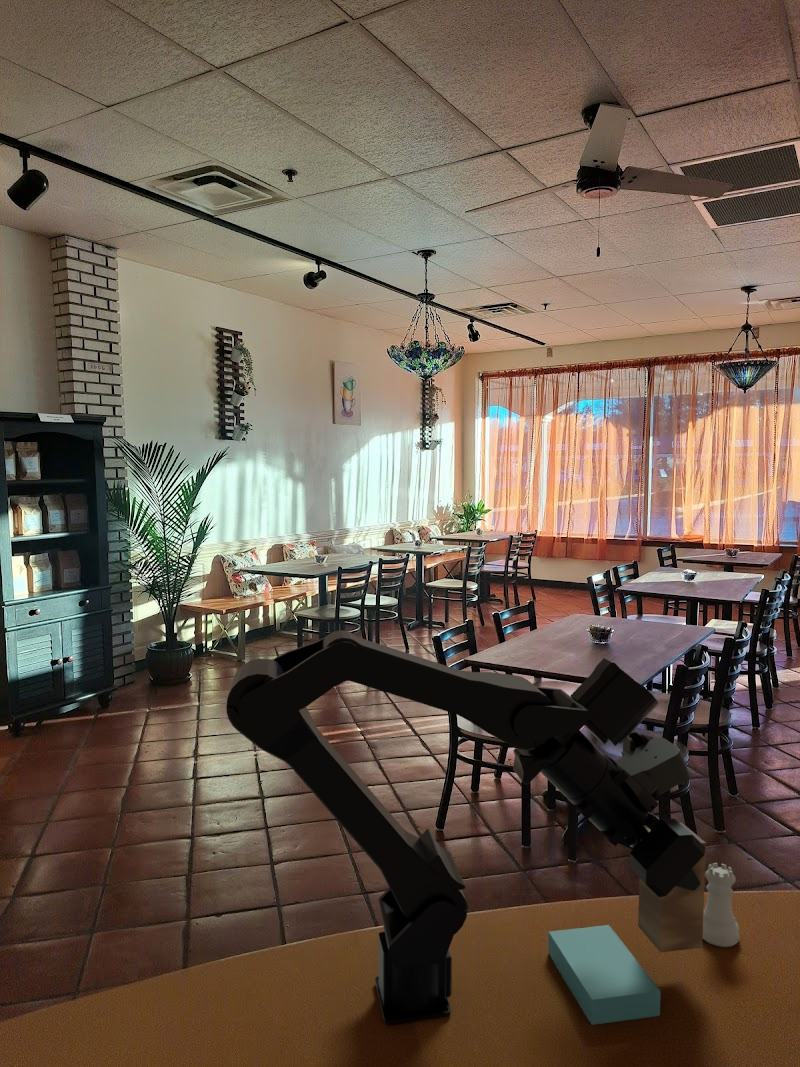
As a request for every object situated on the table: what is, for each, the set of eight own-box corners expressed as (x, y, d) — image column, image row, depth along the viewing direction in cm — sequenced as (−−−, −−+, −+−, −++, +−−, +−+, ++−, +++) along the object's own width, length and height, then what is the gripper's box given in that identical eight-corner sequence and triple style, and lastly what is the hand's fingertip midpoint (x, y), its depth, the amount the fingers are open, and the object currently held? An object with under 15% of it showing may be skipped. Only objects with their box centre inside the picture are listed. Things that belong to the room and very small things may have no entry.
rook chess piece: (732, 926, 88) (734, 859, 88) (745, 950, 84) (748, 880, 83) (692, 924, 89) (694, 857, 88) (703, 947, 84) (705, 877, 84)
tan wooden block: (660, 952, 77) (663, 846, 76) (638, 926, 81) (641, 825, 81) (702, 947, 78) (706, 842, 77) (677, 921, 82) (681, 822, 81)
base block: (591, 1025, 72) (592, 999, 72) (548, 953, 83) (548, 931, 83) (659, 1015, 74) (660, 990, 73) (608, 946, 84) (608, 924, 84)
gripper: (688, 750, 68) (796, 861, 70) (602, 691, 86) (690, 781, 89) (601, 842, 67) (713, 951, 70) (533, 763, 86) (623, 852, 88)
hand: (683, 873), depth 79 cm, fingers closed on tan wooden block, 5 cm apart
